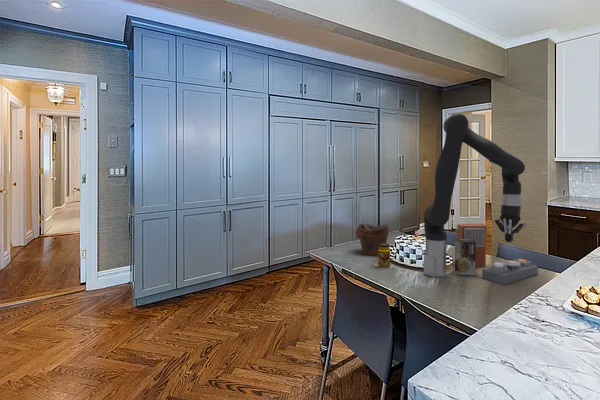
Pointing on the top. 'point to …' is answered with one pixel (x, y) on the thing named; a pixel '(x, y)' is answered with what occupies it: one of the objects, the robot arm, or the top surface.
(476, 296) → the top surface
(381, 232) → the brown plant pot
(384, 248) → the condiment
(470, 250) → the cookie box
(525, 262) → the terracotta button
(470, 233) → the red upright rectangular box
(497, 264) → the grey button
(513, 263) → the rocker switch
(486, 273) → the switch console
